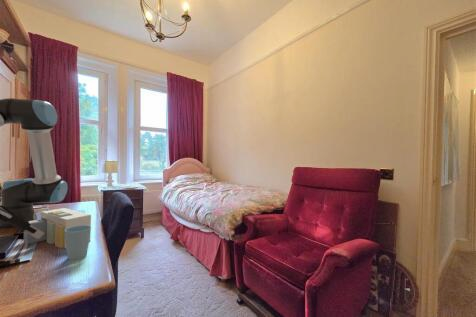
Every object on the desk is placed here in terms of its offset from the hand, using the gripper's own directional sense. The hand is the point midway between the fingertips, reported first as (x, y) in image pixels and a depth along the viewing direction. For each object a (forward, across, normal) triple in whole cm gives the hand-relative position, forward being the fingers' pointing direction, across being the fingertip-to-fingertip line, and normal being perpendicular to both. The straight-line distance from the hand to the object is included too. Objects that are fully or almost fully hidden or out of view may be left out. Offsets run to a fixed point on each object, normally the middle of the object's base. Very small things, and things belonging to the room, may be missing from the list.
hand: (40, 235), depth 88 cm
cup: (+5, +22, -1) cm, 23 cm away
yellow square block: (+8, +7, +2) cm, 11 cm away
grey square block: (+4, -8, -1) cm, 9 cm away
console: (+9, 0, +3) cm, 9 cm away
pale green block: (+8, 0, +2) cm, 8 cm away
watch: (+9, -20, +3) cm, 22 cm away
